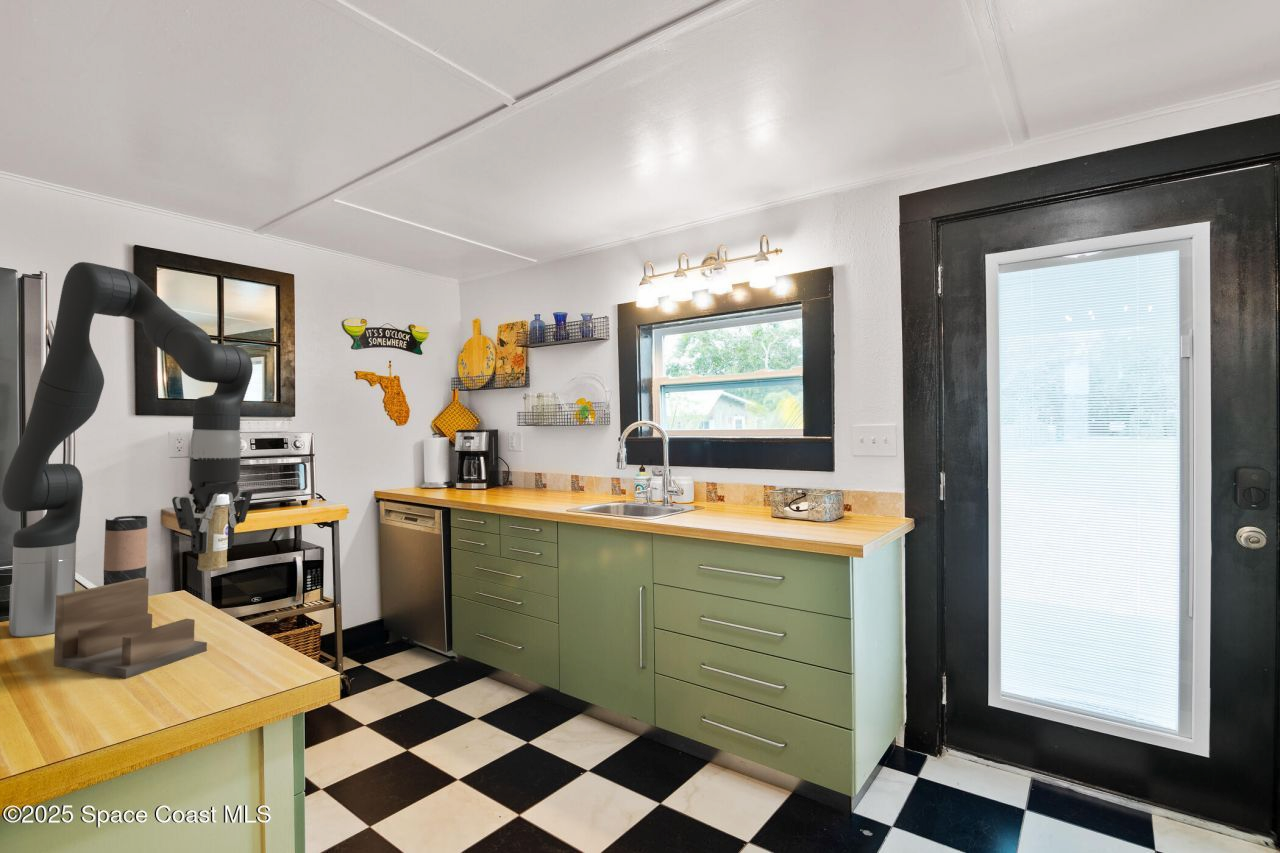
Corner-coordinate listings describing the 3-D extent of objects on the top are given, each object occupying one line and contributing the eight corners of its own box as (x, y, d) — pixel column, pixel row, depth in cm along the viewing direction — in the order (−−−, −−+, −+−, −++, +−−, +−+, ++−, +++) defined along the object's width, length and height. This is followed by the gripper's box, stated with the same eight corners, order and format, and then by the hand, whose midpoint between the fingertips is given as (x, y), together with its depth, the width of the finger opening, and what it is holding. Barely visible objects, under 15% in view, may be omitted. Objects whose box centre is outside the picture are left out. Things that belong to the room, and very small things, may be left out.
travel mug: (148, 605, 145) (150, 518, 145) (105, 611, 139) (107, 521, 139) (142, 598, 150) (144, 514, 150) (100, 604, 144) (102, 517, 144)
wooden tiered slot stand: (53, 665, 108) (55, 595, 108) (139, 640, 121) (141, 577, 121) (126, 678, 103) (128, 605, 103) (206, 650, 116) (208, 585, 117)
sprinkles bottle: (227, 570, 112) (230, 494, 112) (196, 572, 109) (198, 495, 109) (227, 565, 116) (229, 492, 116) (197, 567, 113) (199, 492, 113)
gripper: (235, 453, 121) (232, 542, 120) (159, 455, 107) (156, 556, 107) (266, 454, 118) (263, 545, 118) (193, 457, 105) (189, 560, 105)
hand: (212, 550), depth 112 cm, fingers closed on sprinkles bottle, 4 cm apart
